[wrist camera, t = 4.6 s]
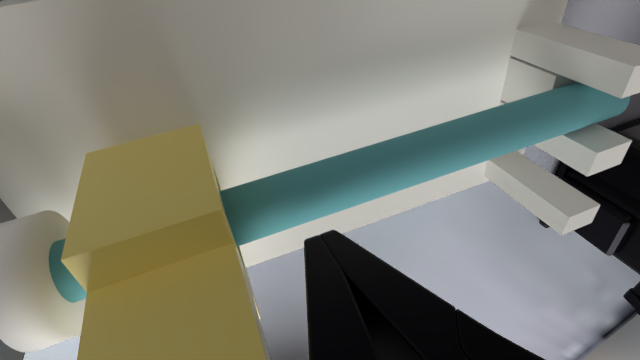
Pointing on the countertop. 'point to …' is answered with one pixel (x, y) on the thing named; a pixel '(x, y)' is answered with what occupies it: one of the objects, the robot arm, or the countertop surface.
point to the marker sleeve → (159, 256)
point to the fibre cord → (285, 201)
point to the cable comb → (295, 92)
